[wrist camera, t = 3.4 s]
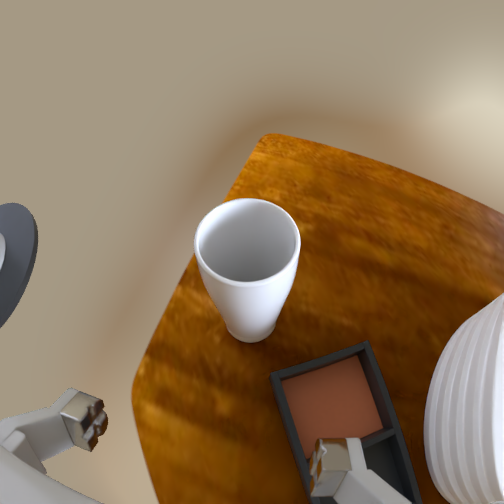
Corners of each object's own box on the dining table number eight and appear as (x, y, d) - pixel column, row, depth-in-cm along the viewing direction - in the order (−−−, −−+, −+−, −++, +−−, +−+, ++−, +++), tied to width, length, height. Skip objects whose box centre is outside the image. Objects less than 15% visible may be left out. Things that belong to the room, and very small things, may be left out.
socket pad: (321, 538, 18) (327, 548, 15) (268, 377, 28) (270, 372, 25) (409, 499, 19) (423, 504, 17) (358, 347, 29) (368, 339, 27)
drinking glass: (205, 322, 31) (169, 242, 18) (247, 279, 34) (242, 181, 21) (254, 364, 29) (252, 310, 16) (296, 316, 31) (323, 231, 19)
